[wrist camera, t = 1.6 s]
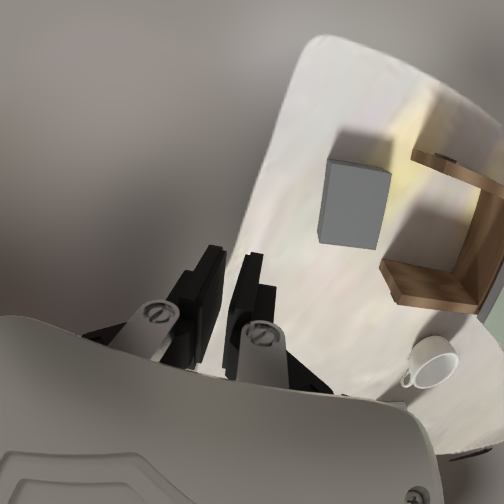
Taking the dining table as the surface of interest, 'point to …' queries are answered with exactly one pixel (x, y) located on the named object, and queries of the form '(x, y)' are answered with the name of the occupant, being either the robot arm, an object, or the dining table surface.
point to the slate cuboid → (352, 204)
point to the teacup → (431, 362)
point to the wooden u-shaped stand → (470, 259)
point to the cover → (494, 310)
